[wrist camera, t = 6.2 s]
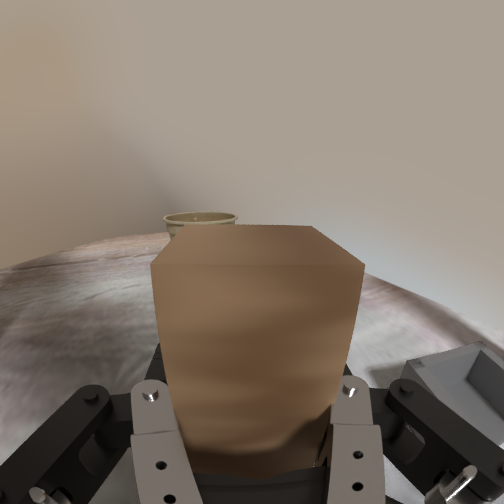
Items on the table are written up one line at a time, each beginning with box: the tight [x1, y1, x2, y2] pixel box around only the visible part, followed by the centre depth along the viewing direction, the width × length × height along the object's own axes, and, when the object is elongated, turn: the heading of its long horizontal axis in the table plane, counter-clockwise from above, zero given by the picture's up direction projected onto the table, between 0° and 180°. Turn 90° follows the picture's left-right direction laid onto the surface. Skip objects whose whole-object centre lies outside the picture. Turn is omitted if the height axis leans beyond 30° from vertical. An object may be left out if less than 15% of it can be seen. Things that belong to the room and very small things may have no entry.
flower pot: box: [163, 212, 238, 240], centre depth 36 cm, size 9×9×9 cm
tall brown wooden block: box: [150, 224, 365, 480], centre depth 9 cm, size 4×4×12 cm
